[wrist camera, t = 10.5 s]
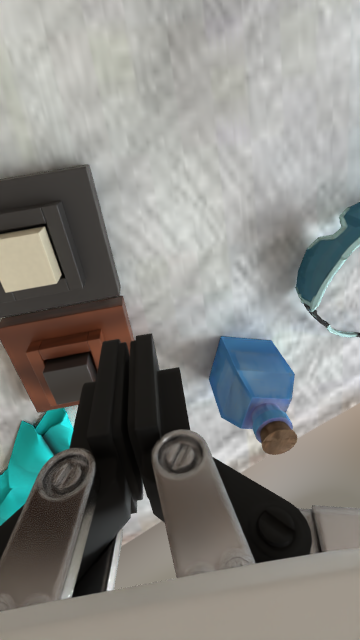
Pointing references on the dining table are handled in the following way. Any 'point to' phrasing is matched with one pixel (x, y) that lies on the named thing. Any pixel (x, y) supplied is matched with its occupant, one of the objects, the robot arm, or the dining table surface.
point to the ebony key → (69, 376)
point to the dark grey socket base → (60, 237)
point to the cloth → (32, 458)
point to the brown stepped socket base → (61, 341)
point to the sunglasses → (328, 263)
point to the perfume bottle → (254, 390)
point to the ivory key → (27, 260)
